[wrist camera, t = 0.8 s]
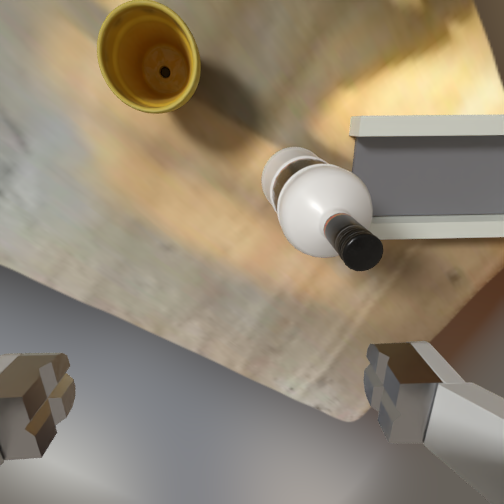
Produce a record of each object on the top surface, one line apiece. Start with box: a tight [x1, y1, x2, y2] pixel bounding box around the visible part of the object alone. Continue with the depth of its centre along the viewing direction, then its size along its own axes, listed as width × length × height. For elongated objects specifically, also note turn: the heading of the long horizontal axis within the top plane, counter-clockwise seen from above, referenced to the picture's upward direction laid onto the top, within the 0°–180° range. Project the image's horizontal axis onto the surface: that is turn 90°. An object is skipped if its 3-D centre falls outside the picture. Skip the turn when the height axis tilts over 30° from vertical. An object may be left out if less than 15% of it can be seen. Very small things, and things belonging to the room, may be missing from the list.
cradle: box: [349, 115, 504, 240], centre depth 46 cm, size 17×30×5 cm, turn 90°
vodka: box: [261, 147, 383, 271], centre depth 34 cm, size 9×9×30 cm
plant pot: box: [97, 0, 201, 113], centre depth 38 cm, size 10×10×10 cm
